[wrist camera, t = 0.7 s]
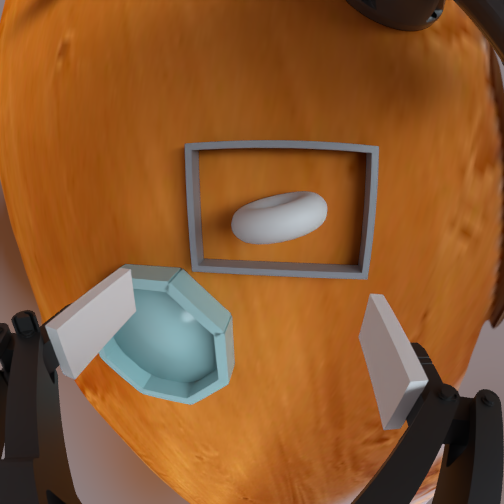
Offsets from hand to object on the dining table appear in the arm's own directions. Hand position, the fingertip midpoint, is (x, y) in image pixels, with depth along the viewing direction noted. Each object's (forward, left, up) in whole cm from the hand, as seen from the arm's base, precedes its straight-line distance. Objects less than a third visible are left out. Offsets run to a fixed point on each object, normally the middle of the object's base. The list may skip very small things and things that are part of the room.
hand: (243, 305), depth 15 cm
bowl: (+17, +19, -21) cm, 33 cm away
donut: (-1, -1, -21) cm, 21 cm away
